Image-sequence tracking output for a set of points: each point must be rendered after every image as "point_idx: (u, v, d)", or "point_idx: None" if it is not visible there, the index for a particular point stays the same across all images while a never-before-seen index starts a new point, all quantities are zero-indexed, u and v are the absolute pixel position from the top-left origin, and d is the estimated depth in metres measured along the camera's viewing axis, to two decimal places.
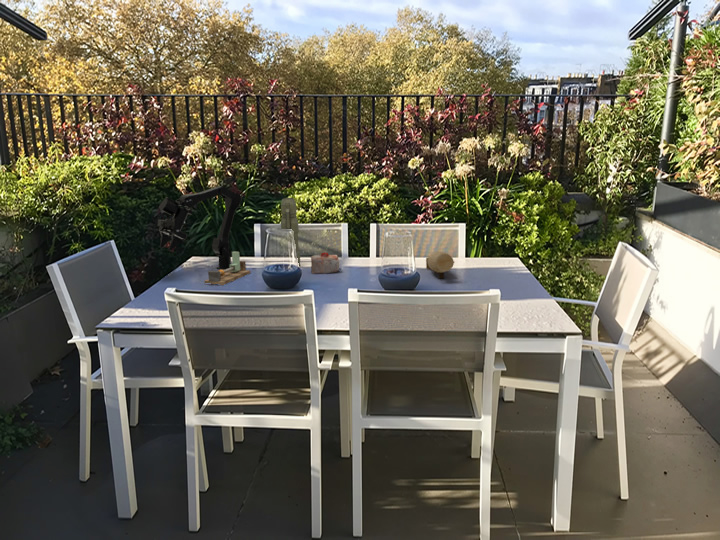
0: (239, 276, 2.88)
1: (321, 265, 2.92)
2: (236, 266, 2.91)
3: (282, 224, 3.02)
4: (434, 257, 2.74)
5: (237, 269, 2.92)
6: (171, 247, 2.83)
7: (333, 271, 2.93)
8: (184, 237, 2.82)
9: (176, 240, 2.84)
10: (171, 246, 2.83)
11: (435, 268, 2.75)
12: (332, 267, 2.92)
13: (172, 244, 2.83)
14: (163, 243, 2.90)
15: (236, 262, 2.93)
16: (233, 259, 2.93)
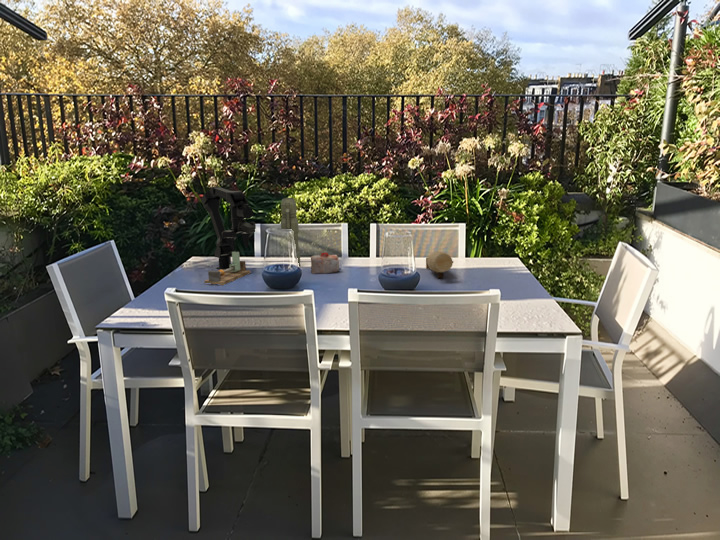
0: (239, 276, 2.88)
1: (321, 265, 2.92)
2: (236, 266, 2.91)
3: (282, 224, 3.02)
4: (433, 257, 2.75)
5: (237, 269, 2.92)
6: None
7: (333, 271, 2.94)
8: None
9: None
10: None
11: (434, 268, 2.75)
12: (332, 267, 2.92)
13: None
14: None
15: (236, 262, 2.93)
16: (233, 259, 2.93)
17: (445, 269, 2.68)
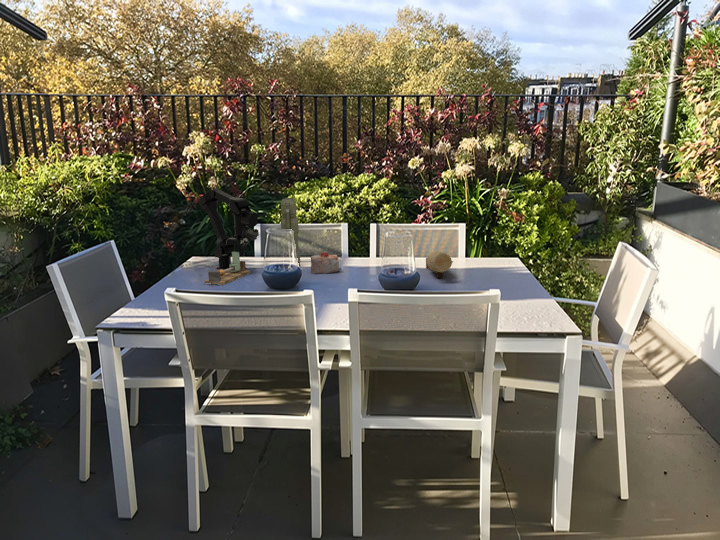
0: (239, 276, 2.88)
1: (321, 265, 2.92)
2: (236, 266, 2.91)
3: (282, 224, 3.02)
4: (433, 257, 2.75)
5: (237, 269, 2.92)
6: None
7: (333, 271, 2.94)
8: None
9: None
10: None
11: (434, 268, 2.75)
12: (332, 267, 2.92)
13: None
14: None
15: (236, 262, 2.93)
16: (233, 259, 2.93)
17: (444, 269, 2.68)
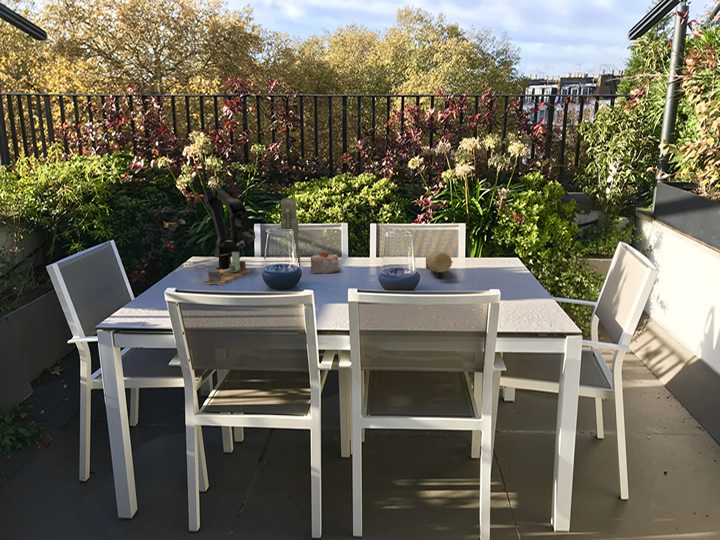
0: (239, 276, 2.88)
1: (321, 265, 2.92)
2: (236, 266, 2.91)
3: (282, 224, 3.02)
4: (433, 257, 2.75)
5: (237, 269, 2.92)
6: None
7: (333, 271, 2.94)
8: None
9: None
10: None
11: (434, 268, 2.75)
12: (332, 267, 2.92)
13: None
14: None
15: (236, 262, 2.93)
16: (233, 259, 2.93)
17: (444, 269, 2.68)
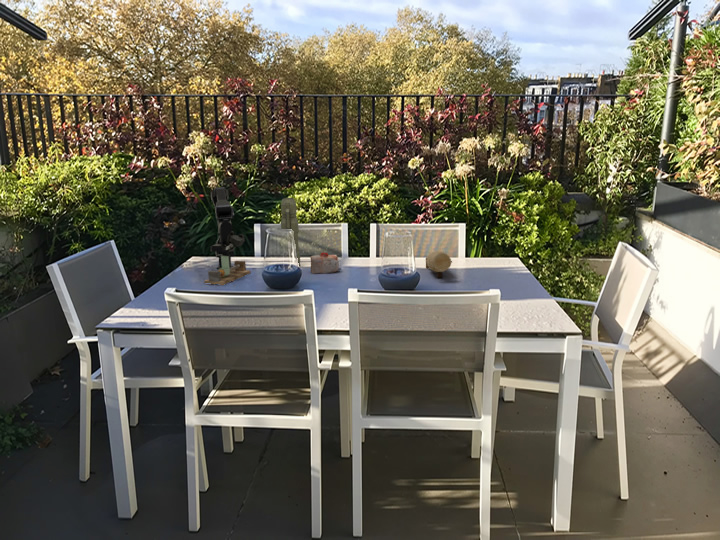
0: (239, 276, 2.88)
1: (321, 265, 2.92)
2: (225, 270, 2.83)
3: (282, 224, 3.02)
4: (432, 257, 2.75)
5: (226, 273, 2.83)
6: None
7: (333, 271, 2.94)
8: None
9: None
10: None
11: (433, 268, 2.76)
12: (332, 267, 2.92)
13: None
14: None
15: (225, 266, 2.84)
16: (222, 263, 2.85)
17: (444, 269, 2.68)
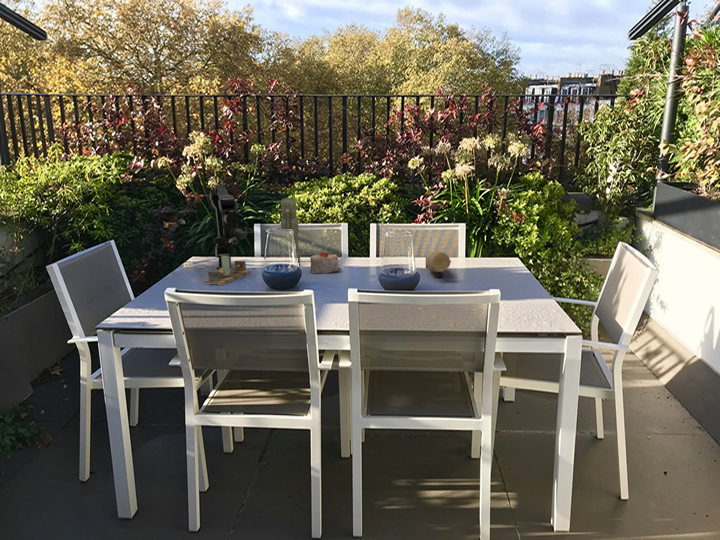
0: (239, 276, 2.88)
1: (321, 265, 2.92)
2: (226, 270, 2.83)
3: (282, 224, 3.02)
4: (431, 256, 2.76)
5: (227, 273, 2.84)
6: None
7: (333, 271, 2.94)
8: None
9: None
10: None
11: (432, 267, 2.76)
12: (332, 267, 2.92)
13: None
14: None
15: (226, 266, 2.85)
16: (223, 263, 2.85)
17: (443, 269, 2.69)
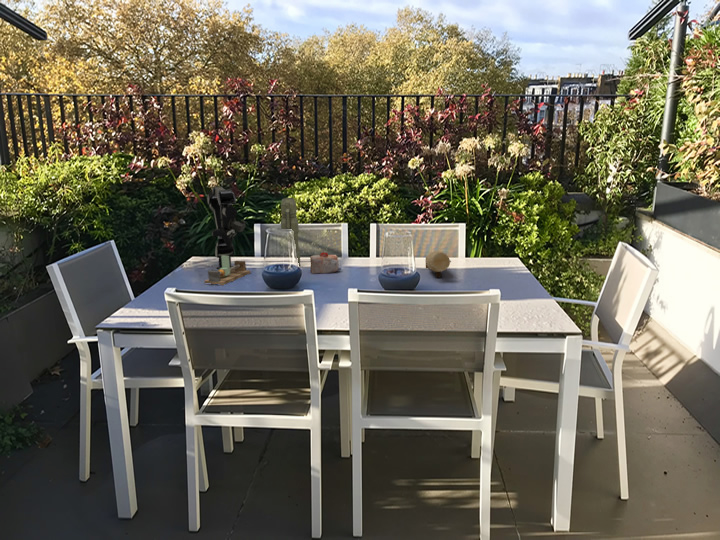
0: (239, 276, 2.88)
1: (321, 265, 2.92)
2: (226, 270, 2.83)
3: (282, 224, 3.02)
4: (431, 256, 2.76)
5: (227, 273, 2.84)
6: None
7: (332, 271, 2.94)
8: None
9: None
10: None
11: (432, 267, 2.76)
12: (332, 267, 2.92)
13: None
14: None
15: (226, 266, 2.85)
16: (223, 263, 2.85)
17: (442, 268, 2.69)
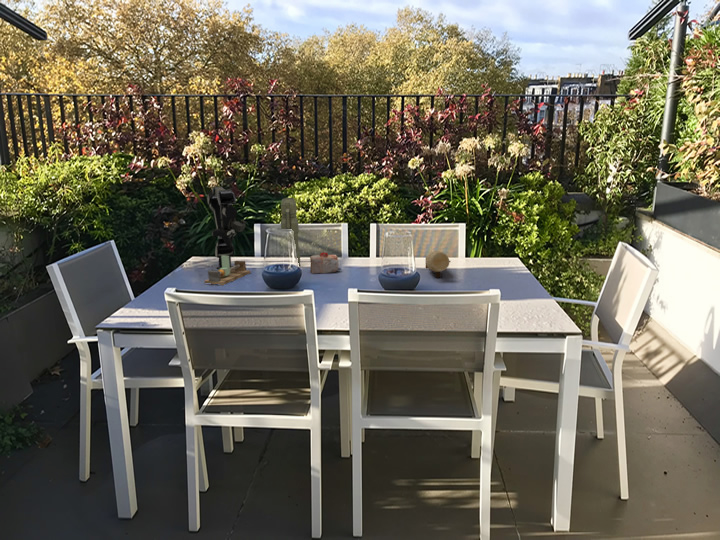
0: (239, 276, 2.88)
1: (320, 265, 2.92)
2: (226, 270, 2.83)
3: (282, 224, 3.02)
4: (431, 256, 2.76)
5: (227, 273, 2.84)
6: None
7: (332, 271, 2.94)
8: None
9: None
10: None
11: (432, 267, 2.76)
12: (331, 267, 2.92)
13: None
14: None
15: (226, 266, 2.85)
16: (223, 263, 2.85)
17: (442, 268, 2.69)
